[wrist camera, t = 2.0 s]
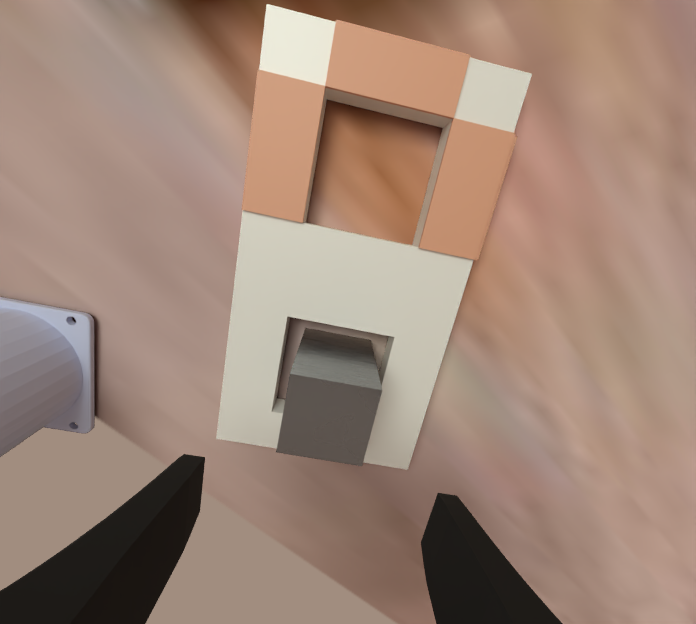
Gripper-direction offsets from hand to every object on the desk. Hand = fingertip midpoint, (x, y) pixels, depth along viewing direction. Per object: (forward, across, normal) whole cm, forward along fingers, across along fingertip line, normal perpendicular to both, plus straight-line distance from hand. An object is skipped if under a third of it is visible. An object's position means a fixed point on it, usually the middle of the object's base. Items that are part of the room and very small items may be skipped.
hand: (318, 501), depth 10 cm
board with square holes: (+10, 0, -5) cm, 12 cm away
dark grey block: (+10, 0, 0) cm, 11 cm away
